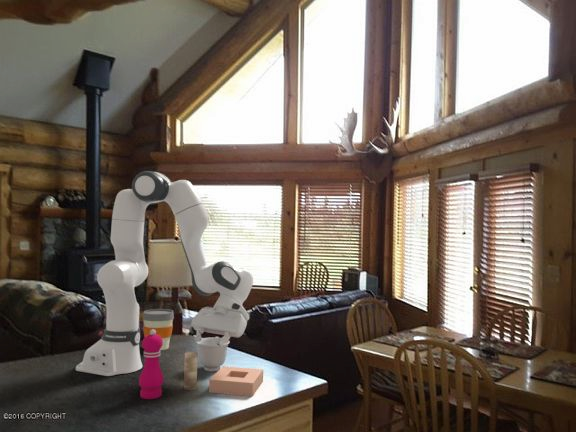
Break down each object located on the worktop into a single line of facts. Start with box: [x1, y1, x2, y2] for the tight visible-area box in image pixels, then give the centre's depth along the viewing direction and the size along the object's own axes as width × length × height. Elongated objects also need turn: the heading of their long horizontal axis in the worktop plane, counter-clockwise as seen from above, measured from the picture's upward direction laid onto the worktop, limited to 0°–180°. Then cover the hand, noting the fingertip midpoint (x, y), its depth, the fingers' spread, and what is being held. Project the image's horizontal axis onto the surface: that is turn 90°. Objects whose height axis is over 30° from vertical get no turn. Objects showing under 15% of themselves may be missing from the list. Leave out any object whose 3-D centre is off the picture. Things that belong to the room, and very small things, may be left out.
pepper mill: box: [138, 329, 164, 400], centre depth 146 cm, size 7×7×20 cm
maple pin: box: [183, 351, 199, 391], centre depth 153 cm, size 4×4×11 cm
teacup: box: [195, 336, 230, 372], centre depth 175 cm, size 12×15×10 cm
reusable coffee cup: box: [142, 308, 175, 351], centre depth 200 cm, size 13×13×15 cm
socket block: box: [208, 365, 264, 397], centre depth 156 cm, size 14×14×4 cm
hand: (207, 343), depth 160 cm, fingers open, 8 cm apart
